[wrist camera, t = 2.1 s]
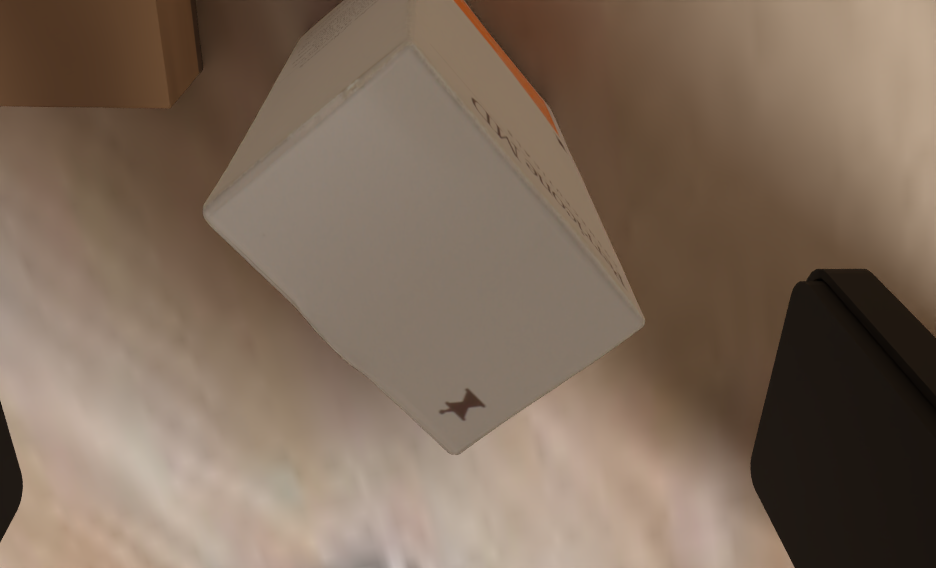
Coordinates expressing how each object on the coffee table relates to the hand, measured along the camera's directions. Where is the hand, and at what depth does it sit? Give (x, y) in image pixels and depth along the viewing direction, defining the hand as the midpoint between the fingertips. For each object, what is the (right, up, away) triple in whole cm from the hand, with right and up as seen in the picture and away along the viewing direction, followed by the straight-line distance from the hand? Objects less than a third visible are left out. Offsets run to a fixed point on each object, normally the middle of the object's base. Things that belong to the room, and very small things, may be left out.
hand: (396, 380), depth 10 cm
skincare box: (0, +7, +14) cm, 15 cm away
